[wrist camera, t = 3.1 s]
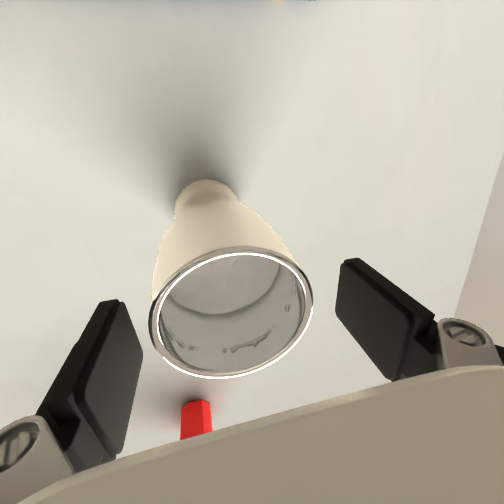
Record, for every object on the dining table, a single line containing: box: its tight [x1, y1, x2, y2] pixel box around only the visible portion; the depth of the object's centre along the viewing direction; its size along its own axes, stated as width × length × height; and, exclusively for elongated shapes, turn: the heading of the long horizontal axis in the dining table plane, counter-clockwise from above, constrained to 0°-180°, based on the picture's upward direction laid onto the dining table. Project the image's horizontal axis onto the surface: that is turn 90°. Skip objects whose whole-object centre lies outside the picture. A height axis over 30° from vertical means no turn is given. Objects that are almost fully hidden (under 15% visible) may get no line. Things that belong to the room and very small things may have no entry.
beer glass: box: [148, 179, 313, 378], centre depth 16 cm, size 7×7×15 cm
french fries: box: [180, 400, 213, 440], centre depth 29 cm, size 9×4×13 cm, turn 179°
